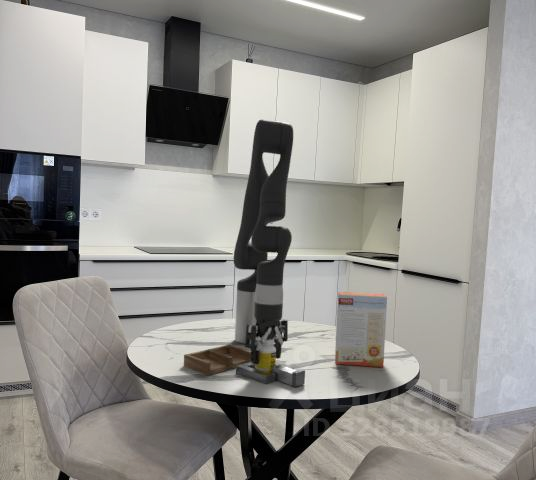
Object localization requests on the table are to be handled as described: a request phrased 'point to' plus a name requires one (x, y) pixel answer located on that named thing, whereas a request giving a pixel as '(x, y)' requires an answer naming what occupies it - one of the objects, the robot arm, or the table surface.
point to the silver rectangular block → (289, 375)
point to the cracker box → (360, 329)
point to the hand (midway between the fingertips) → (266, 360)
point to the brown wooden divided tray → (217, 359)
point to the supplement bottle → (267, 356)
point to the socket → (257, 372)
